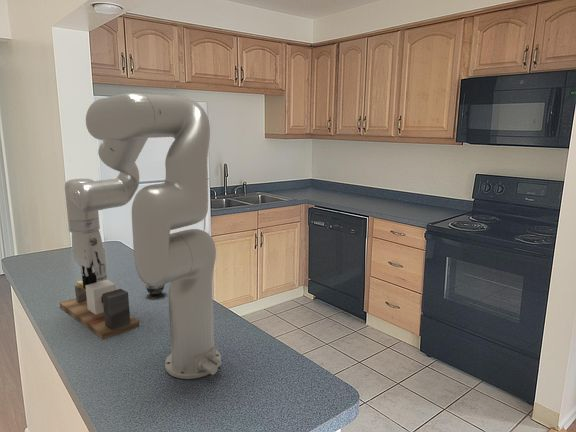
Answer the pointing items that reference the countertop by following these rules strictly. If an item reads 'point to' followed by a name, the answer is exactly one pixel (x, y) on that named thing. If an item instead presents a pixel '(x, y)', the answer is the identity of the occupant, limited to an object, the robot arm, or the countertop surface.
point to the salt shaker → (155, 291)
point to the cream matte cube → (97, 295)
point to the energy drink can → (102, 271)
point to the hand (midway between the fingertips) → (90, 288)
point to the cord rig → (108, 321)
